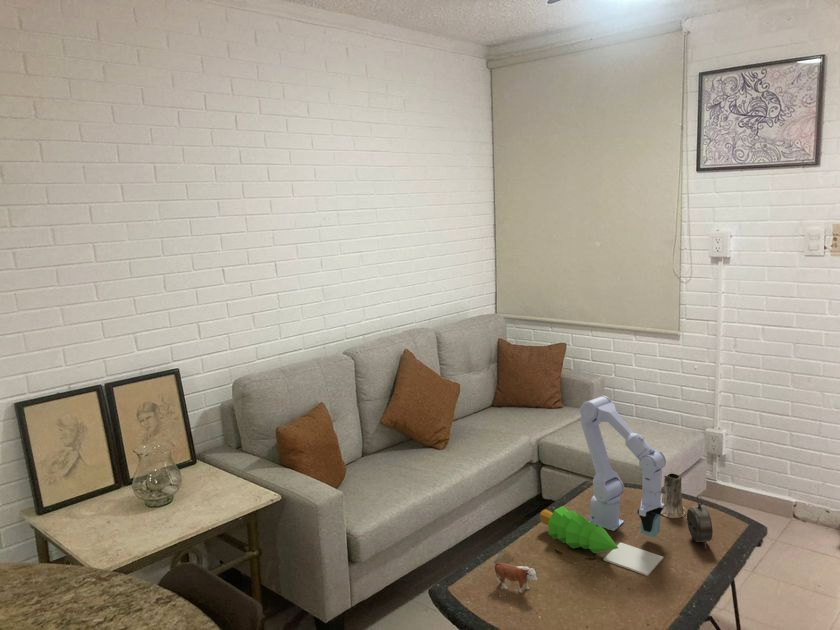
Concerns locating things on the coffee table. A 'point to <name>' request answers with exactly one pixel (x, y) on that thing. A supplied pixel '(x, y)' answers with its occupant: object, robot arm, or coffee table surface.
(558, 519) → the decorative tree
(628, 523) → the coffee table surface
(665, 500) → the tree stump
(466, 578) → the coffee table surface
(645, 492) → the robot arm
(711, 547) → the coffee table surface
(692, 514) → the alarm clock
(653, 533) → the teal block
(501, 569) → the bull figurine
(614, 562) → the off-white tile
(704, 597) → the coffee table surface
